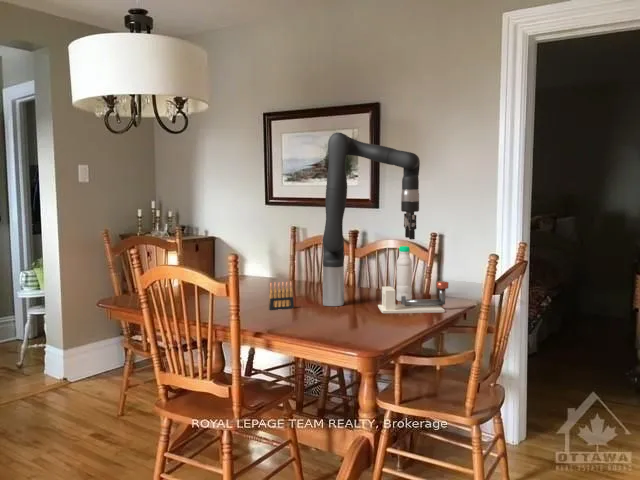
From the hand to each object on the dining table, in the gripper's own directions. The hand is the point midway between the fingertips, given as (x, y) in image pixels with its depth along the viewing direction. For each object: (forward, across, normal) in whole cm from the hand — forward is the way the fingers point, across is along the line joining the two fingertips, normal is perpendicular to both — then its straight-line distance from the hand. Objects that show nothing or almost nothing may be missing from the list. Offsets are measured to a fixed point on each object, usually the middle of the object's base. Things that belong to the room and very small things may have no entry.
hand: (409, 238), depth 243 cm
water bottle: (+30, -17, +1) cm, 35 cm away
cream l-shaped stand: (+30, +3, 0) cm, 30 cm away
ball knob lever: (+29, +3, +6) cm, 29 cm away
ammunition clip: (+30, -2, -55) cm, 63 cm away
